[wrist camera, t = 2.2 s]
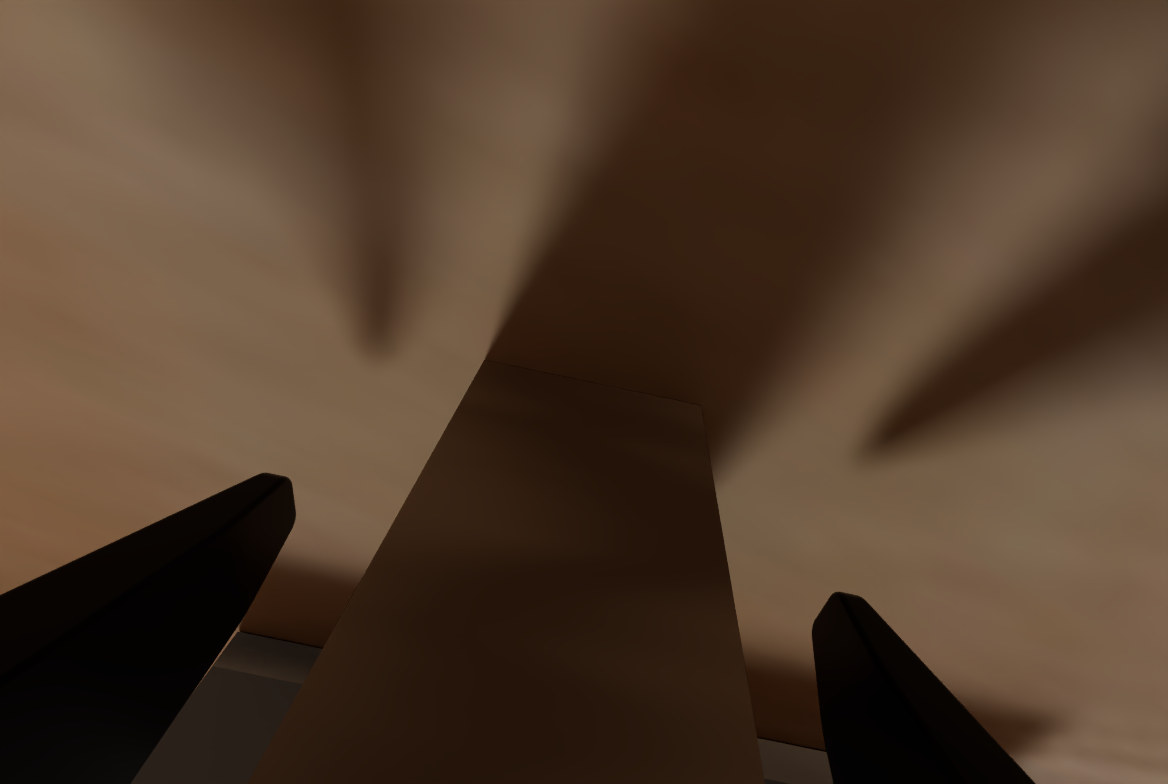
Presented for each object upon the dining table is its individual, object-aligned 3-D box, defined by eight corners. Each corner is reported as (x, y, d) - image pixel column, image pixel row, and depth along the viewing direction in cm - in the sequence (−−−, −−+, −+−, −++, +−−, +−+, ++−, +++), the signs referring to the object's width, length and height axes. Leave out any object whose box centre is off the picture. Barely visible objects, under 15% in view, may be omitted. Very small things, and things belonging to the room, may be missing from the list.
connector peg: (701, 405, 10) (833, 1194, 3) (647, 555, 12) (651, 1223, 5) (484, 359, 10) (97, 1050, 3) (468, 518, 12) (222, 1140, 5)
